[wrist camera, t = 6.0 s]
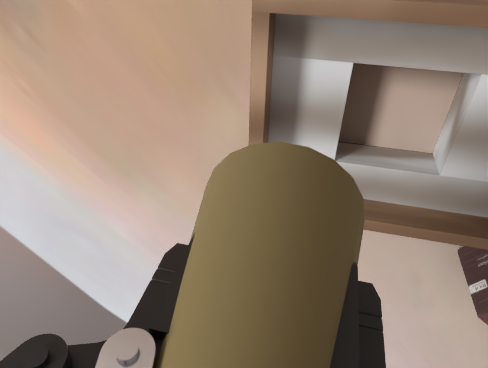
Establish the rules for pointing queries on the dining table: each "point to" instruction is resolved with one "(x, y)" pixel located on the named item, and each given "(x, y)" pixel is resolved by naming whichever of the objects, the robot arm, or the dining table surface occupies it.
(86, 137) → the dining table surface
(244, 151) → the cork
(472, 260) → the box
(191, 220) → the dining table surface
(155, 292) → the robot arm
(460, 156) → the wooden tray
